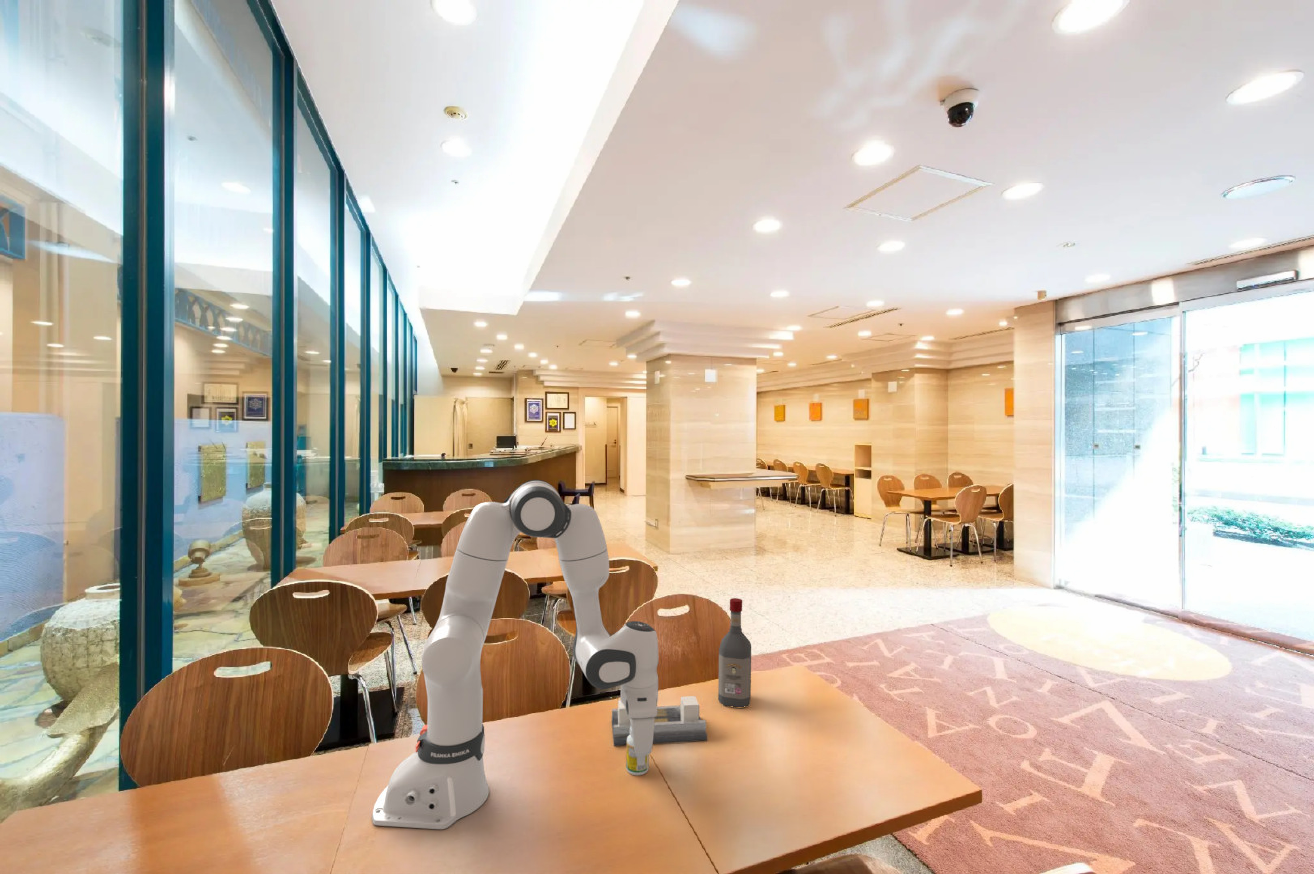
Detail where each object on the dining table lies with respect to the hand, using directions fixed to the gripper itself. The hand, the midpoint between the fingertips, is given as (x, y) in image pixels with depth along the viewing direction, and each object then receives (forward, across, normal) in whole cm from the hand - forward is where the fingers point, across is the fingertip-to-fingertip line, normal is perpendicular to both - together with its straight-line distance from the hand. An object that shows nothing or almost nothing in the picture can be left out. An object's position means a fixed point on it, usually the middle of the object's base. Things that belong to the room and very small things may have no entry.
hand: (638, 751), depth 125 cm
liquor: (+5, -30, +32) cm, 44 cm away
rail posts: (+3, -16, +7) cm, 18 cm away
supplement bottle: (+4, 0, 0) cm, 4 cm away
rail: (+4, -16, +7) cm, 18 cm away
